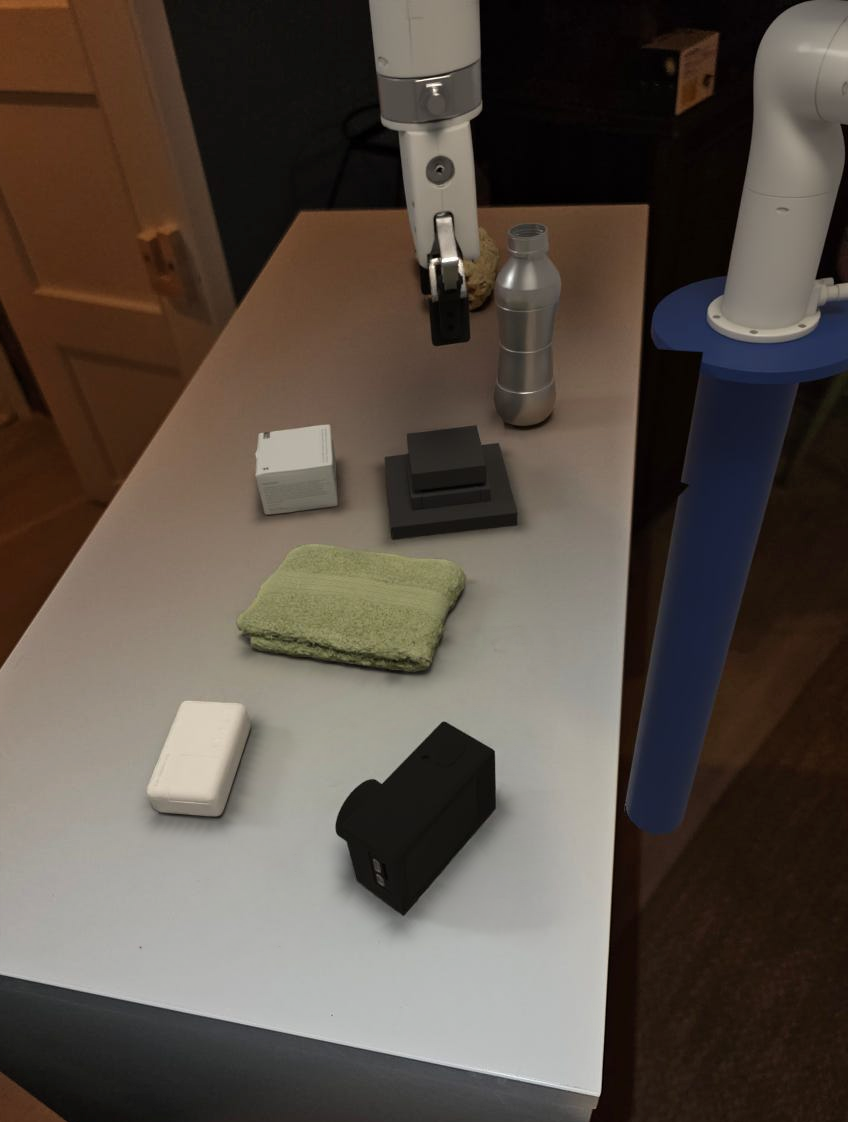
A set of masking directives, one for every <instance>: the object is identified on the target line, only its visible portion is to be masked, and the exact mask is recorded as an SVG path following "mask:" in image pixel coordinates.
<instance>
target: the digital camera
mask: <svg viewBox="0 0 848 1122" xmlns="http://www.w3.org/2000/svg"><path fill="white" fill-rule="evenodd" d="M496 778H497V777H496V750H494V749H493V748H492V747H490V746H488V745H486V744H485V743H483V742H482V741H480V740H478V739H477V738H474V737H473V736H471V735H470V734H468V733H466V732H464V731H463V730H461V729H459V728H458V727H456V726H454V725H452V724H450V723H449V722H447V721H441V722H440V723H439V724H438V725H437V726H436V727H435V728H434V729H433V730H432V732H430V733H429V734H428V735H427V737H425V739H424V740H422V742H421V743H420V744H419V745H418V746H417V747H416V748H415V749H414V750H413V751H412V752H410V754H409V755H408V756H407V757H406V758H405V759H404V760H403V761H402V762H401V763H400V764H399V765H398V767H396V769H395V770H393V772H391V774H390V775H389V776H387V778H386V779H385V780H383V782H380V781H379V780H377V779H375V778H370V779H366V780H364V781H363V782H361V783H360V784H358V785H357V786H356V787H355V788H354V789H353V790H352V791H351V792H350V793H349V795H348V796H347V797H346V798H345V800H344V802H343V803H342V805H341V806H340V809H339V810H338V814H337V816H336V820H335V828H334V829H335V833H336V835H337V836H338V837H339V838H341V840H343V841H345V842H346V845H347V848H348V853H349V856H350V860H351V861H350V862H351V865H352V868H353V873H354V876H355V880H356V881H357V883H359V884H361V886H363V887H364V888H365V889H367V890H368V891H370V892H371V893H373V894H374V895H375V896H376V897H378V898H379V899H380V900H382V901H383V902H384V903H385V904H387V905H388V906H390V907H391V908H392V909H393V910H394V911H396V912H397V913H399V914H400V915H401V916H402V917H403V916H405V915H406V914H407V913H408V912H409V910H410V909H411V908H412V907H413V906H414V905H415V904H416V902H417V901H418V900H419V899H420V898H421V896H422V895H423V894H424V893H425V892H426V891H427V889H428V888H429V887H430V886H431V885H432V884H433V883H434V881H436V879H437V878H438V877H439V875H440V874H441V873H442V872H443V871H444V870H445V869H446V867H447V866H448V865H449V864H450V863H451V862H452V860H453V859H454V858H455V857H456V856H457V855H458V853H459V852H460V851H461V850H462V849H463V847H464V846H465V845H466V844H467V843H468V842H469V841H470V839H471V838H472V837H473V836H474V835H475V833H476V832H477V831H478V830H479V829H480V828H481V826H483V824H484V823H485V822H486V821H487V820H488V818H489V817H490V816H491V815H492V814H493V812H495V810H496V809H497V788H496V785H497V784H496V783H497V779H496Z"/></svg>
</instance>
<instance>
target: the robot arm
mask: <svg viewBox="0 0 848 1122" xmlns="http://www.w3.org/2000/svg"><path fill="white" fill-rule="evenodd" d="M368 4H369V5H368V6H369V13H370V24H371V25H370V26H371V32H372V42H373V43H372V44H373V53H374V62H375V72H376V81H377V91H378V101H379V110H380V122H381V124H382V126H383V127H384V128H387V129H388V130H392V131H397V132H398V139H399V140H398V141H399V142H398V143H399V152H400V159H401V160H400V161H401V171H402V179H403V187H404V189H403V190H404V195H405V202H406V203H405V204H406V210H407V215H408V221H409V226H410V230H411V234H412V239H413V242H414V244H415V247H416V251H417V255H418V260H419V264H418V270H419V282H420V283H419V284H420V291H421V294H422V295H423V296H424V295H431V298H428V300H427V303H428V310H429V311H428V313H429V324H430V325H429V326H430V327H429V328H430V338H431V344H432V346H433V347H442V346H449V345H456V344H457V345H458V344H464V343H468V342H469V341H470V340H471V319H470V318H471V317H470V316H471V315H470V310H469V295H468V292H467V291H466V281H465V273H464V264H463V255H464V257H465V259H466V261H467V260H472V262H476V261H477V260H478V258H479V257H480V247H479V234H478V226H479V220H478V218H479V217H478V202H477V188H476V187H477V185H476V173H475V172H476V171H475V158H474V157H475V156H474V147H473V139H472V129H471V123H470V122H471V120H473V119H474V118H477V117H478V116H479V115H480V114H481V113H482V111H483V95H482V94H483V93H482V92H483V91H482V90H483V89H482V57H481V56H482V55H481V53H482V50H481V49H482V48H481V21H480V19H481V18H480V17H481V15H480V0H368ZM752 87H753V120H752V132H751V142H750V148H749V155H748V161H747V167H746V172H745V178H744V182H743V188H742V194H741V199H740V205H739V210H738V215H737V216H738V217H737V221H736V226H735V230H734V231H735V232H734V237H733V242H732V248H731V253H730V259H729V266H728V270H727V275H726V276H727V281H726V286H725V292H724V295H722V296H720V297H718V298H716V299H715V300H714V301H713V302H712V303H711V304H710V305H709V307H708V311H707V322H708V324H709V325H710V327H712V328H713V329H714V330H715V331H716V332H718V333H719V334H721V335H723V336H726V337H728V338H731V339H735V340H738V341H743V342H749V343H759V344H771V343H782V342H788V341H792V340H796V339H799V338H802V337H804V336H806V335H808V334H809V333H811V332H812V331H814V329H815V328H816V327H817V325H818V322H819V319H820V310H819V308H818V306H824V304H825V303H826V302H831V301H834V302H837V301H845V300H848V282H843V283H837V284H835V281H834V278H833V277H825V278H819V279H816V278H817V274H818V270H819V265H820V262H821V258H822V254H823V250H824V246H825V244H826V243H825V242H826V238H827V234H828V231H829V227H830V223H831V219H832V215H833V211H834V207H835V203H836V199H837V197H838V196H837V195H838V191H839V188H840V184H841V180H842V178H843V177H842V176H843V174H844V173H843V172H844V166H845V160H846V150H845V149H846V146H845V139H844V138H845V137H844V134H843V130H842V126H841V125H847V126H848V0H807V1H804V2H801V3H798V4H795V5H793V6H791V7H789V8H787V9H786V10H784V11H783V12H782V13H780V14H779V15H778V16H777V17H776V18H775V19H774V20H773V21H772V23H771V24H770V25H769V26H768V28H767V29H766V31H765V33H764V34H763V37H762V39H761V41H760V43H759V45H758V48H757V53H756V56H755V62H754V69H753V86H752ZM462 253H463V255H462Z"/></svg>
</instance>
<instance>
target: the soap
mask: <svg viewBox="0 0 848 1122" xmlns="http://www.w3.org/2000/svg"><path fill="white" fill-rule="evenodd" d="M251 728H252V723H251V720H250V715H249V714H248V711H247V708H246V706H245V704H243V703H239V702H226V701H225V702H224V701H203V700H184V701H182V702H181V704H180V705H179V708H178V710H177V713H176V715H175V717H174V719H173V723H172V724H171V727H170V730H169V732H168V735H167V737H166V740H165V742H164V744H163V746H162V749H161V752H160V754H159V757H158V760H157V762H156V765H155V767H154V769H153V772H152V775H151V777H150V779H149V782H148V784H147V787H146V794H147V797H148V798H149V800H150V802H151V804H152V806H153V808H154V809H155V810H156V811H157V812H160V813H167V814H176V815H177V814H179V815H188V816H189V815H190V816H202V817H212V818H213V817H214V818H215V817H220V816H221V815H222V814H223V813H224V810H225V808H226V805H227V802H228V799H229V795H230V793H231V790H232V787H233V783H234V781H235V777H236V775H237V771H238V768H239V764H240V762H241V758H242V755H243V752H244V750H245V747H246V743H247V740H248V736H249V734H250V731H251Z"/></svg>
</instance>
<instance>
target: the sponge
mask: <svg viewBox="0 0 848 1122" xmlns="http://www.w3.org/2000/svg"><path fill="white" fill-rule="evenodd" d="M478 234H479V247H480V257H479V258H478V260H477V261H476V262H472V260H467V261H466V259H465V257H464V255H463V253H462V255H463V264H464V273H465V281H466V291H467V292H468V295H469V311H474V310H475V309H477V308H479V307H481V306H482V305H483V304H484V302H485V301H487V300H488V297H489V296H491V294H492V290H494V285H495V282H496V277H497V276H496V275H497V271H498V268H499V266H500V262H501V255H500V252H501V251H500V250H499V248H498V247H497V246H496V244H495V243H494V240H493V239H492V238H491V236H489V234H488V233H487V232H486V230H485V228H484V227H482V226H481V225H478ZM412 245H413V246H412V249H413V256H414V257H415V260H416V262H417V263H418V265H419V260H418V255H417V251H416V247H415V244H414V241H413V244H412ZM423 296H424V298H425V299H426V300H427V301H428V298H431V295H423Z"/></svg>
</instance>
